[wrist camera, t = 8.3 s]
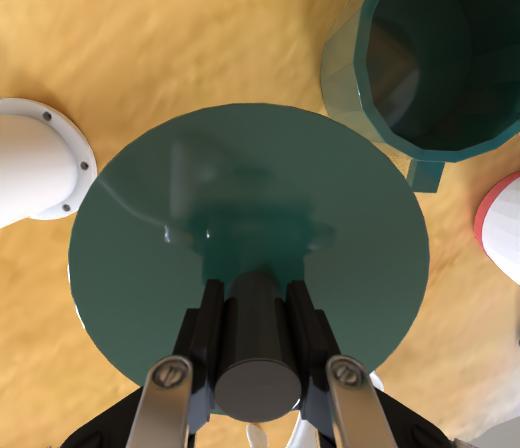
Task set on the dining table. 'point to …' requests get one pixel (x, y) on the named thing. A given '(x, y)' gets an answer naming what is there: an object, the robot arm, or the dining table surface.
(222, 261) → the lid
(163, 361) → the robot arm
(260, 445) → the spoon rest
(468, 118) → the pot
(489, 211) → the citrus juicer
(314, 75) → the dining table surface
